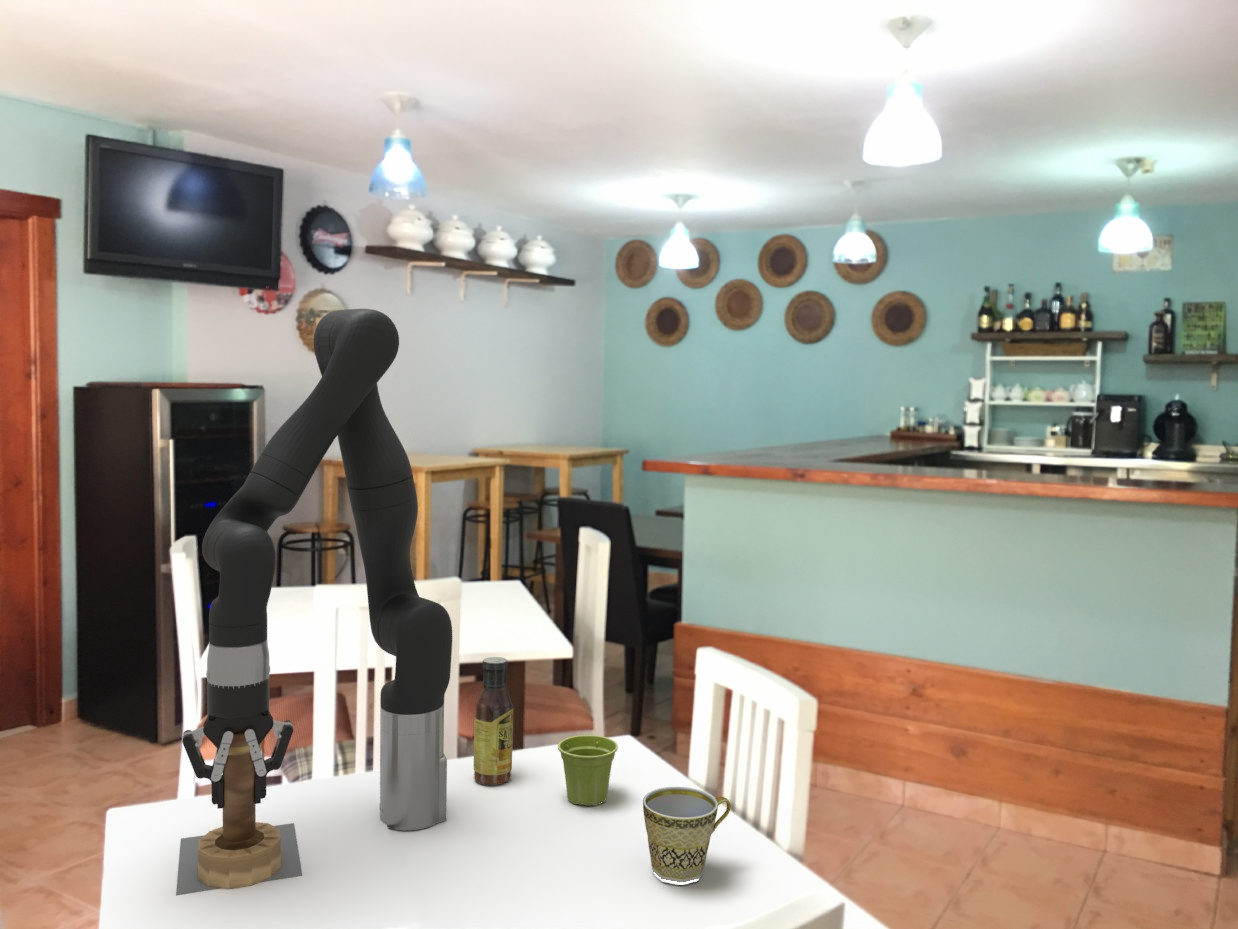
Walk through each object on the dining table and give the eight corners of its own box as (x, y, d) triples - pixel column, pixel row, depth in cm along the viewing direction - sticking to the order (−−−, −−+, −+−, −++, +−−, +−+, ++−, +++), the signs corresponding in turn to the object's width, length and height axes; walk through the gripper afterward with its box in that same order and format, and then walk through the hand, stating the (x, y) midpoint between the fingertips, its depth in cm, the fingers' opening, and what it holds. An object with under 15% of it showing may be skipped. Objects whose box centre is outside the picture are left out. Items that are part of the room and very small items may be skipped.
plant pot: (545, 795, 156) (546, 741, 156) (594, 782, 162) (595, 730, 161) (578, 817, 149) (579, 761, 148) (628, 802, 154) (630, 748, 154)
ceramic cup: (664, 899, 126) (666, 823, 125) (627, 864, 135) (629, 793, 134) (748, 878, 132) (751, 805, 131) (708, 846, 141) (710, 778, 140)
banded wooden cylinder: (255, 825, 132) (255, 723, 131) (256, 839, 128) (256, 734, 127) (221, 830, 131) (221, 726, 129) (221, 844, 127) (221, 737, 125)
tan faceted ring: (278, 845, 136) (278, 817, 136) (282, 880, 127) (282, 850, 127) (199, 857, 133) (199, 828, 132) (197, 893, 123) (197, 863, 123)
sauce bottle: (504, 789, 158) (506, 667, 156) (467, 785, 159) (469, 664, 158) (517, 773, 165) (519, 656, 163) (481, 769, 166) (483, 653, 164)
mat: (294, 826, 143) (293, 823, 143) (302, 879, 129) (302, 875, 129) (180, 842, 138) (180, 838, 138) (176, 899, 123) (175, 895, 123)
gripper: (294, 662, 134) (294, 785, 135) (179, 671, 128) (180, 799, 130) (298, 678, 127) (298, 808, 128) (177, 688, 121) (178, 823, 123)
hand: (238, 803), depth 129 cm, fingers closed on banded wooden cylinder, 4 cm apart
